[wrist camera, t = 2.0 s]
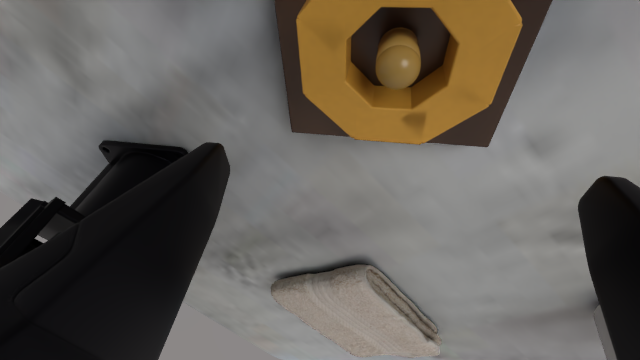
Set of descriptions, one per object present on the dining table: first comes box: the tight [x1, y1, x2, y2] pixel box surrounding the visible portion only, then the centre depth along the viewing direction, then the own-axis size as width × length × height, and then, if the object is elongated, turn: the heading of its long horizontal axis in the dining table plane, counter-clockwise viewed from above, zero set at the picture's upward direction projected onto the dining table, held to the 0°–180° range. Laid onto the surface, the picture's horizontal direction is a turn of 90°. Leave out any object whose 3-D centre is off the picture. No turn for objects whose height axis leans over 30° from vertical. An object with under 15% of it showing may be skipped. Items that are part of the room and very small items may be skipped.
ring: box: [296, 0, 522, 145], centre depth 12 cm, size 7×7×2 cm
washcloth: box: [271, 264, 442, 358], centre depth 34 cm, size 12×18×3 cm, turn 37°
